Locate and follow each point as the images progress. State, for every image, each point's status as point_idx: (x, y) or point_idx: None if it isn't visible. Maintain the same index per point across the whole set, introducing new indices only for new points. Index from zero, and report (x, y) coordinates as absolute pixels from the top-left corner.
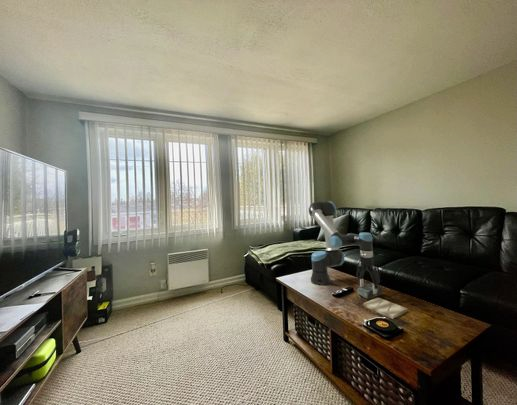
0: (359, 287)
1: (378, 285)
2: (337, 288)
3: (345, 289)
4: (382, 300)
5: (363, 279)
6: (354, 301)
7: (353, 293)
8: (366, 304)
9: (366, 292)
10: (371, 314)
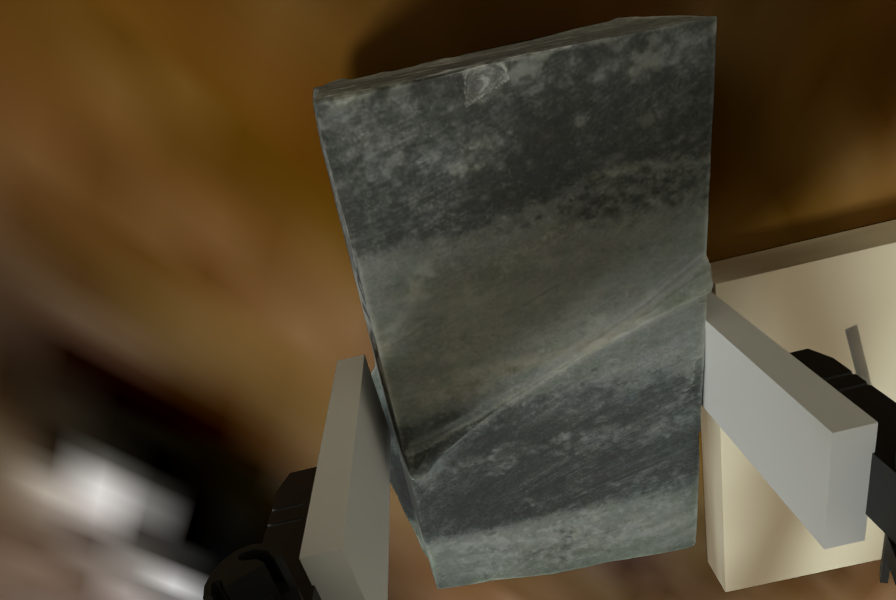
0: (437, 545)
1: (590, 53)
2: (42, 572)
3: (111, 488)
4: (841, 304)
5: (345, 524)
6: (558, 587)
7: (314, 465)
8: (772, 579)
9: (672, 540)
10: (891, 596)
